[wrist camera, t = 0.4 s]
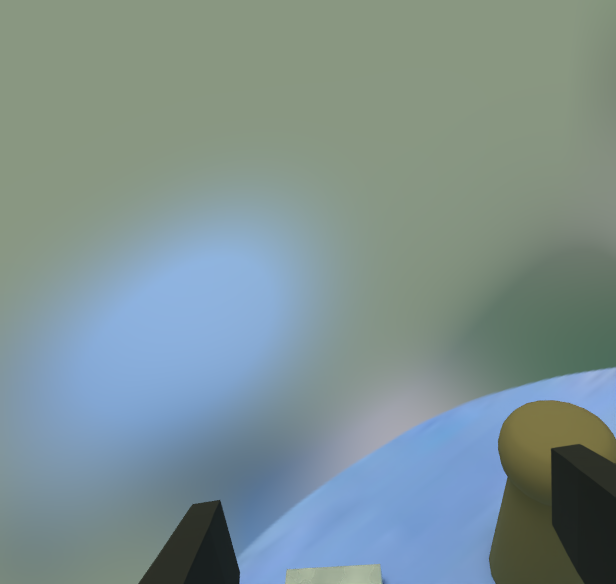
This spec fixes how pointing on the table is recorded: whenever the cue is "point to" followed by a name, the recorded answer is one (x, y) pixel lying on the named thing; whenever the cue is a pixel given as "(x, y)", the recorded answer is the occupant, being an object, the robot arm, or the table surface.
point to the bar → (336, 575)
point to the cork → (538, 490)
